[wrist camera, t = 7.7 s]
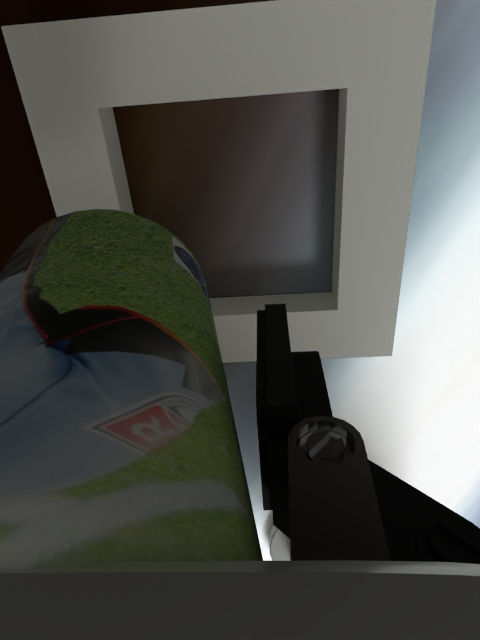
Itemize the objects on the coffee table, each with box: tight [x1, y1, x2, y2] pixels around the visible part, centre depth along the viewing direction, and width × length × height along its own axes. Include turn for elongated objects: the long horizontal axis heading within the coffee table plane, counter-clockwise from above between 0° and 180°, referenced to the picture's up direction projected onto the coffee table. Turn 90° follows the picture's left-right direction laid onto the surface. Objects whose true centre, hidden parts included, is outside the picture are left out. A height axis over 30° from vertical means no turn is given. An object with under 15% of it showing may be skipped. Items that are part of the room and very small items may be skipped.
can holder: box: [1, 0, 436, 363], centre depth 21 cm, size 16×16×2 cm
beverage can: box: [0, 209, 263, 571], centre depth 10 cm, size 6×7×12 cm
